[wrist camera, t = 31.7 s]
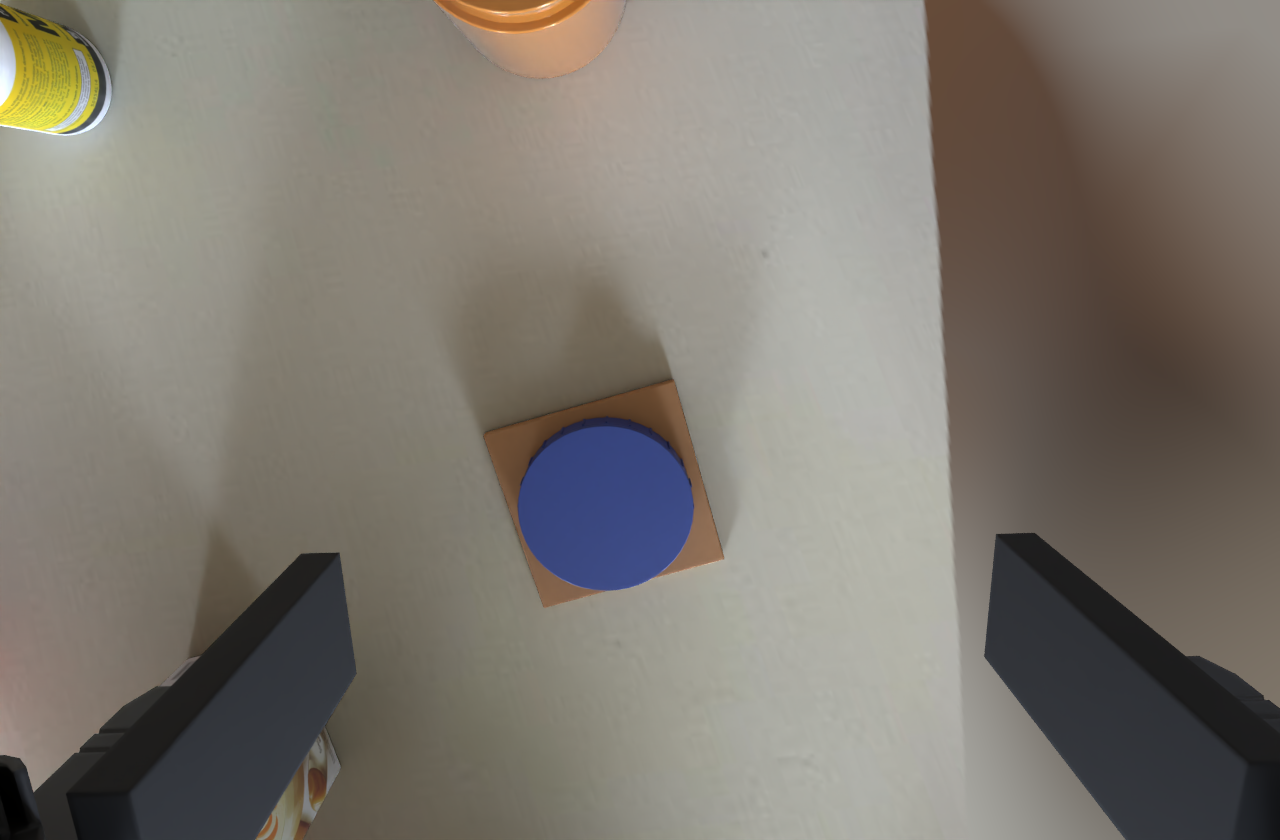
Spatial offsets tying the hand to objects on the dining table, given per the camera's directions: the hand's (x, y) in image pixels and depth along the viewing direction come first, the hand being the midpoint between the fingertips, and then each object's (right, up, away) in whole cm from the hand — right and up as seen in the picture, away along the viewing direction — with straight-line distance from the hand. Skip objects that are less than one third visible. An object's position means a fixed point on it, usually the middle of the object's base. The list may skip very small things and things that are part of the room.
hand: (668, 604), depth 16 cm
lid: (-2, -1, +23) cm, 23 cm away
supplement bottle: (-27, +19, +20) cm, 38 cm away
